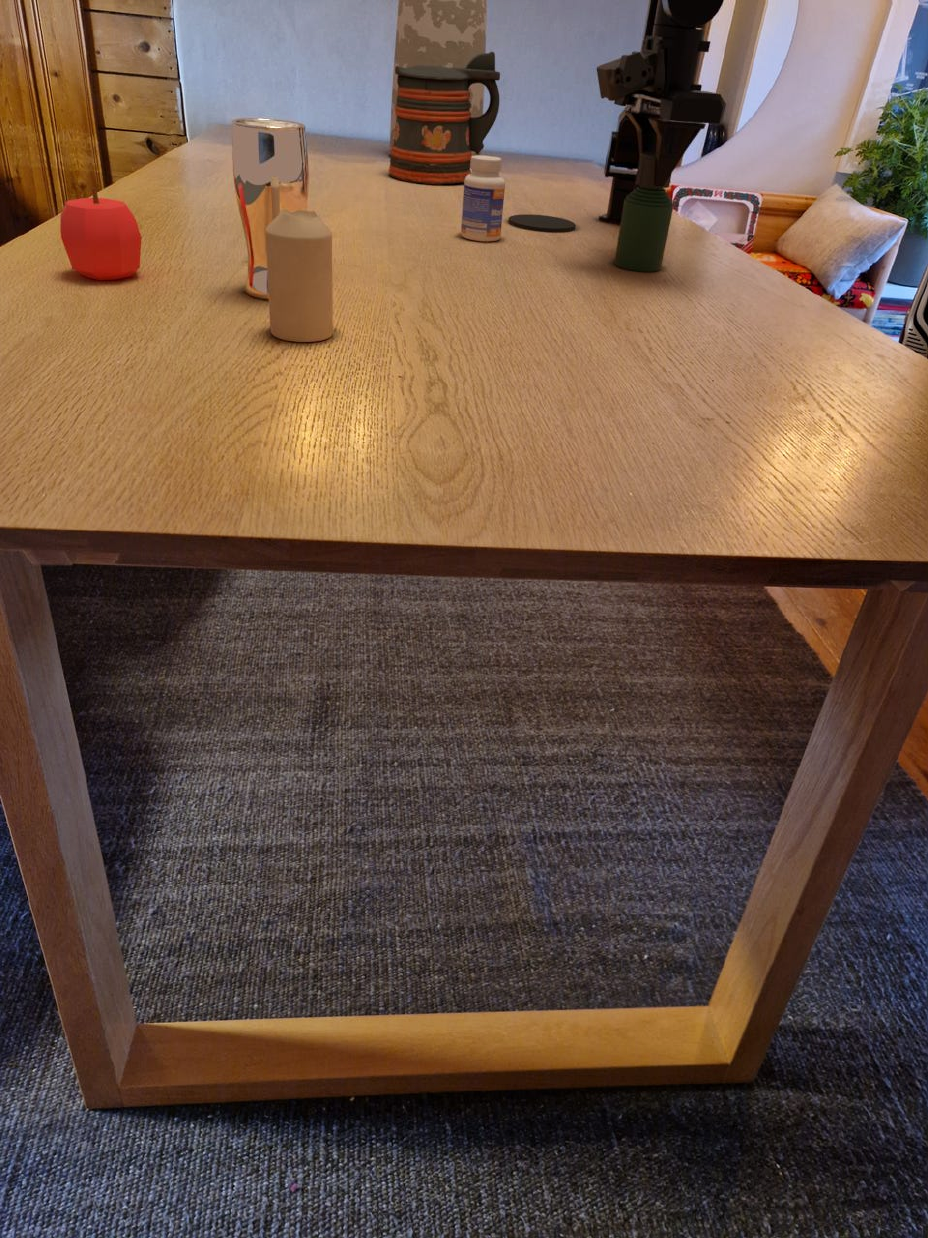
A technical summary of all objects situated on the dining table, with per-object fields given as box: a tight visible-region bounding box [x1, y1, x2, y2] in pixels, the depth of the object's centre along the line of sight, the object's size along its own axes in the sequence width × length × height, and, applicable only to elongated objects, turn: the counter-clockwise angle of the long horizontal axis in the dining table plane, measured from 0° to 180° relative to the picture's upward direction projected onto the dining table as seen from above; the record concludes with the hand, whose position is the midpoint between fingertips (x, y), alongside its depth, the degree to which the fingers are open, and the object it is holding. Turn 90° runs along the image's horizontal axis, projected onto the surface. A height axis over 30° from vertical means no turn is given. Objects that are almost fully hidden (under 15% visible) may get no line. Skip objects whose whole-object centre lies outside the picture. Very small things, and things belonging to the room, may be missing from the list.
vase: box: [389, 0, 488, 162], centre depth 168 cm, size 20×19×38 cm
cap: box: [635, 152, 673, 189], centre depth 104 cm, size 4×4×3 cm
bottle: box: [613, 185, 674, 273], centre depth 107 cm, size 6×6×12 cm
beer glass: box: [231, 117, 310, 301], centre depth 83 cm, size 7×7×15 cm
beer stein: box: [388, 51, 501, 186], centre depth 151 cm, size 19×15×20 cm
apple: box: [59, 187, 142, 281], centre depth 86 cm, size 8×8×8 cm
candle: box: [265, 209, 334, 343], centre depth 74 cm, size 6×6×10 cm
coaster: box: [507, 213, 577, 233], centre depth 128 cm, size 10×10×1 cm
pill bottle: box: [460, 154, 506, 242], centre depth 114 cm, size 5×5×10 cm
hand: (652, 182), depth 105 cm, fingers closed on cap, 4 cm apart
